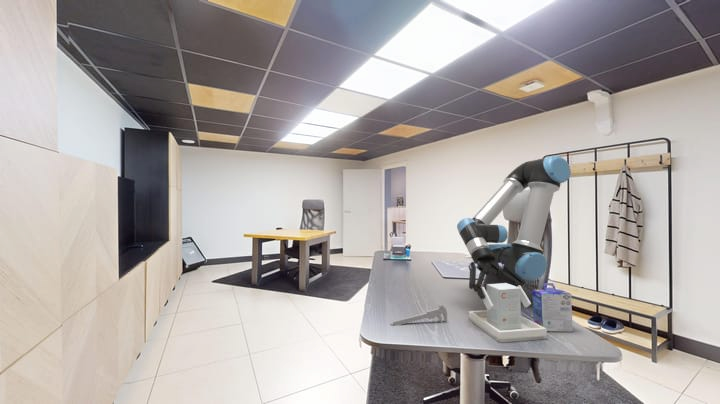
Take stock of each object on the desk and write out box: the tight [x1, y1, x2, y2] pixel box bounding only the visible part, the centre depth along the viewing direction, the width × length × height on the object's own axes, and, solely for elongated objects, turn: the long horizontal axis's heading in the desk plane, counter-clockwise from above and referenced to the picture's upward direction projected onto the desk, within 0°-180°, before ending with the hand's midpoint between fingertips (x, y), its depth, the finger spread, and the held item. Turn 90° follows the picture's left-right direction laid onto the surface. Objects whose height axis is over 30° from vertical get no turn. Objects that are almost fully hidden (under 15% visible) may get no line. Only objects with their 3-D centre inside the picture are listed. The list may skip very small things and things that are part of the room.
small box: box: [486, 283, 522, 330], centre depth 85 cm, size 8×6×13 cm
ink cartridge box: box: [531, 282, 574, 333], centre depth 86 cm, size 10×6×14 cm, turn 89°
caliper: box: [389, 303, 448, 326], centre depth 89 cm, size 20×1×6 cm, turn 98°
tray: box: [468, 309, 548, 344], centre depth 85 cm, size 16×16×3 cm
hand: (509, 306), depth 83 cm, fingers open, 13 cm apart
